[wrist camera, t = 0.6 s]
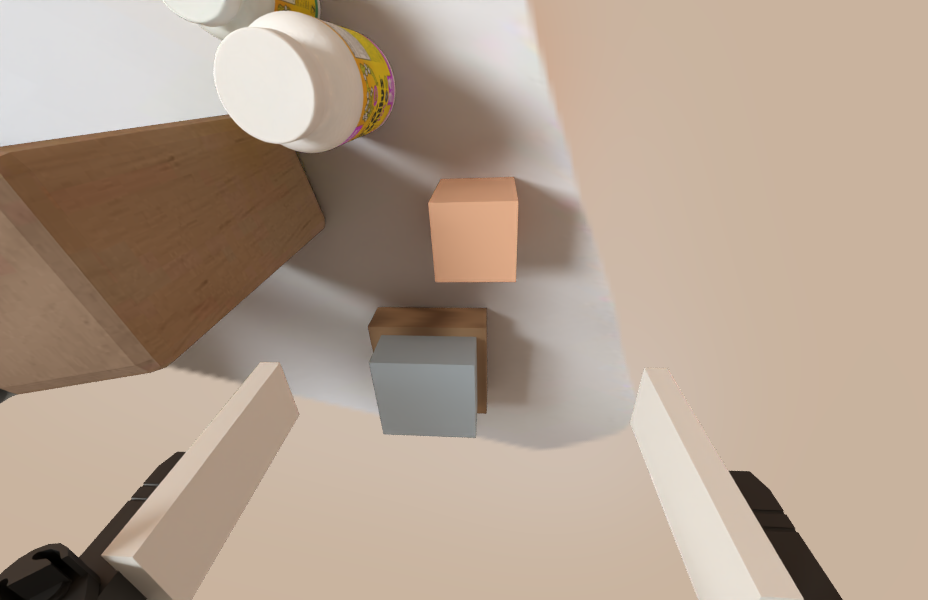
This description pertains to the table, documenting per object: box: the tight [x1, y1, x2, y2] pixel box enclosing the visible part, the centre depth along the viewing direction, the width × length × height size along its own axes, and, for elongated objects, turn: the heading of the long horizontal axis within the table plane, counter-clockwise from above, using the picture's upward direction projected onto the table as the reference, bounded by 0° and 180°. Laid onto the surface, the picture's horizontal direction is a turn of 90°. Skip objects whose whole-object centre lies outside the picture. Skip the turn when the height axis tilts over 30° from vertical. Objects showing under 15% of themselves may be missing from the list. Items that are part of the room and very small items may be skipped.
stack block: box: [428, 177, 518, 282], centre depth 29 cm, size 6×6×7 cm
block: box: [0, 115, 325, 394], centre depth 24 cm, size 10×10×20 cm
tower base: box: [368, 307, 487, 414], centre depth 39 cm, size 11×11×4 cm
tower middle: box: [369, 335, 477, 438], centre depth 36 cm, size 9×9×4 cm
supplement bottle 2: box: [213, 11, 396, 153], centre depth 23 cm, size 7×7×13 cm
